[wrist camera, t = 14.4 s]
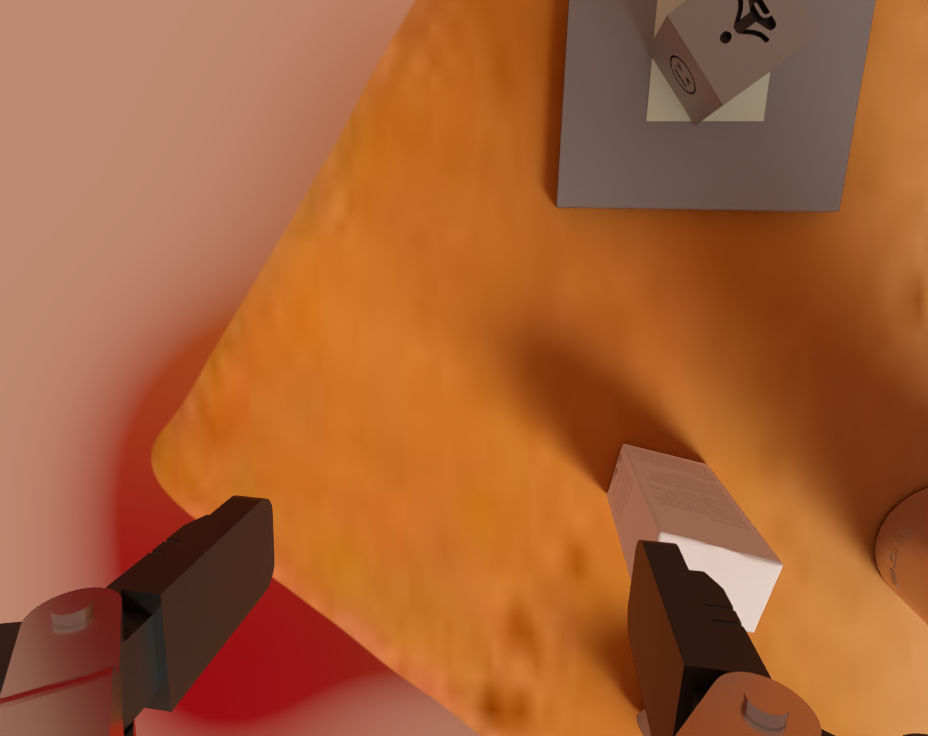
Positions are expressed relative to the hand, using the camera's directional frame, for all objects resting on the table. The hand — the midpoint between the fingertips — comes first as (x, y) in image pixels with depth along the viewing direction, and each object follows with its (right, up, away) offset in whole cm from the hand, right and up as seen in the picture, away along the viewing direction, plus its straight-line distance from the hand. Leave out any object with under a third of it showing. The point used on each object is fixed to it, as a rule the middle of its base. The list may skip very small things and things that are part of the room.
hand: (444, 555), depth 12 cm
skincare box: (+14, -4, +26) cm, 30 cm away
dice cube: (+14, +21, +19) cm, 32 cm away
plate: (+14, +22, +20) cm, 33 cm away
